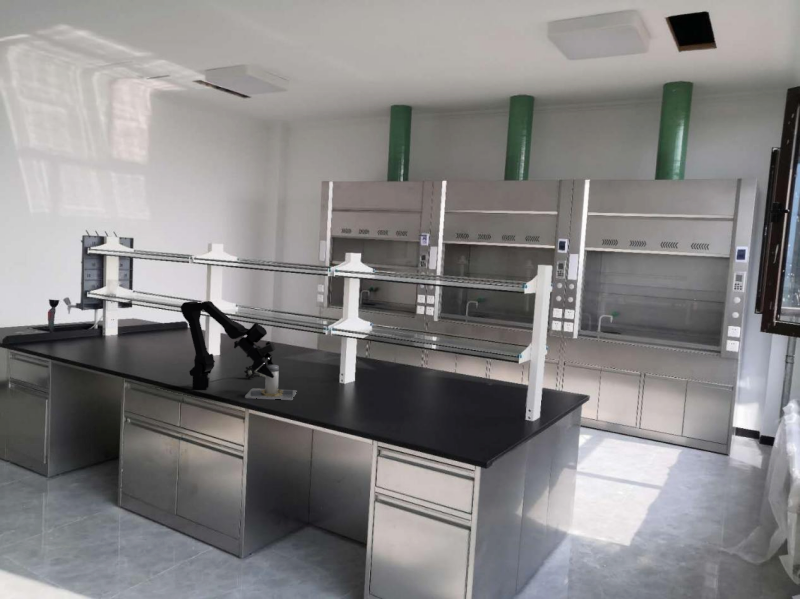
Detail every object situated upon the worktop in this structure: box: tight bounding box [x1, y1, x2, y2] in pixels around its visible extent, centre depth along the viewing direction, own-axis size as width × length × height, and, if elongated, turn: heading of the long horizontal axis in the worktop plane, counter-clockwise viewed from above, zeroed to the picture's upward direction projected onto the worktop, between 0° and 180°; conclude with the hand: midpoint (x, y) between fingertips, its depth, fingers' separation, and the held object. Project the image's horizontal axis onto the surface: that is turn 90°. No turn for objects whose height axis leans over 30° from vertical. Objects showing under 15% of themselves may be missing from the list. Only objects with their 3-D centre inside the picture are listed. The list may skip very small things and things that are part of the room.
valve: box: [243, 365, 265, 380], centre depth 308 cm, size 7×7×12 cm
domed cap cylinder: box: [264, 364, 280, 394], centre depth 274 cm, size 6×6×12 cm
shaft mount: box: [244, 387, 298, 401], centre depth 274 cm, size 20×14×2 cm
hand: (275, 375), depth 274 cm, fingers open, 9 cm apart
